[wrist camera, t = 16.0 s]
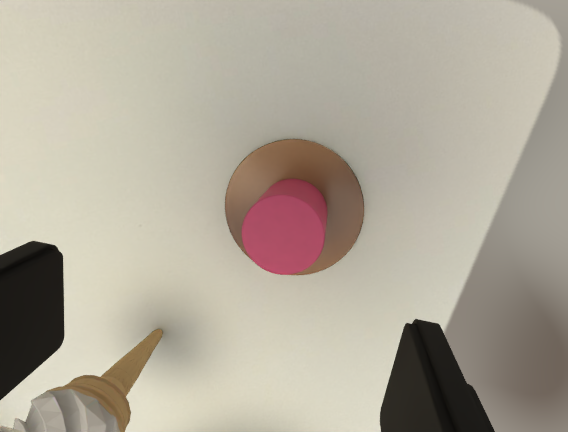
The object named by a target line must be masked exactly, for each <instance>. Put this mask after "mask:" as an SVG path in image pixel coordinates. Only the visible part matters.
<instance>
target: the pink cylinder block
mask: <svg viewBox="0 0 568 432" xmlns="http://www.w3.org/2000/svg"><path fill="white" fill-rule="evenodd" d="M326 223H327V205H326V202H325V199H324V197H323V196H322V194H321V193H320V191H319V190H318V189H317V188H316V187H315V186H313V185H312V184H310V183H308V182H306V181H304V180H300V179H285V180H281V181H279V182H277V183H275V184H273V185H272V186H271V187H270V188H269V189H268V190H267V191H266V192H265V193H264V194H263V195H262V196H261V197H260V198H259V199H258V201H257V202H256V203H255V204H254V205H253V206H252V207H251V208H250V210H249V211H248V212H247V214H246V216H245V218H244V221H243V224H242V241H243V245H244V248H245V250H246V252H247V254H248V255H249V257H250V258H251V259H252V260H253V261H254V262H255V263H256V264H257V265H258V266H260V267H261V268H263V269H264V270H266V271H269V272H271V273H275V274H281V275H288V274H295V273H298V272H301V271H303V270H305V269H307V268H308V267H310V266H311V265H312V264H313V263H314V262H315V261H316V260H317V259H318V257H319V256H320V254H321V252H322V250H323V246H324V241H325V233H326Z"/></svg>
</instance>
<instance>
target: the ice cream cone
mask: <svg viewBox="0 0 568 432" xmlns="http://www.w3.org/2000/svg"><path fill="white" fill-rule="evenodd" d="M161 337H162V330H160V329H157V330H155V331H153V332H152V333H151V334H150V335H148V336H147V337H146V338H145V339H144V340H143V341H142V342H140V343H139V344H138V345H137V346H136V347H134V348H133V349H132V350H131V351H130V352H129V353H127V354H126V355H125V356H124V357H123V358H121V359H120V360H119V361H118V362H116V363H115V364H114V365H113V366H112V367H111V368H110V369H109V370H108V371H106V372H105V373H104V374H103V375H102V376H101V377H98V376H94V375H83V376H80V377H77V378H75V379H73V380H72V381H71V382H70V383H68V384H67V385H65V386H63V387H57V388H54V389H51V390H48V391H46V392H45V393H43V394H41V395H40V396H38V397H36V398H35V399H33V400H31V403H32V405H31V408H30V411H29V414H28V417H27V419H26V422H24V421H22V420H20V419H17V418H15V422H14V427H13V429H16V430H20V431H24V432H125V429H126V426H127V425H128V423H129V421H130V414H131V411H130V407H129V402H128V401H127V399H126V396H127V394H128V392H129V391H130V389H131V388H132V386H133V384H134V383H135V381H136V380H137V378H138V376H139V375H140V373H141V371H142V369H143V367H144V366H145V364H146V362H147V361H148V359H149V357H150V356H151V354H152V352H153V350H154V349H155V347H156V346H157V344H158V342H159V341H160V339H161Z"/></svg>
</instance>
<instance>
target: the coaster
mask: <svg viewBox="0 0 568 432" xmlns="http://www.w3.org/2000/svg"><path fill="white" fill-rule="evenodd" d="M285 179H300V180H304V181H306V182H308V183H310V184H312V185H313V186H315V187H316V188H317V189H318V190H319V191H320V193H321V194H322V196H323V197H324V199H325V202H326V205H327V223H326V233H325V241H324V246H323V250H322V252H321V254H320V256H319V257H318V259H317V260H316V261H315V262H314V263H313V264H312V265H311V266H310V267H308V268H307V269H305V270H303V271H301V272H298V273H295V274H288V275H306V274H311V273H316V272H319V271H321V270H324V269H326V268H328V267H330V266H332V265H333V264H335V263H336V262H338V261H339V260H340V259H341V258H342V257H344V256H345V255H346V254H347V252H348V251H349V250H350V249H351V248H352V246H353V244H354V243H355V241H356V240H357V237H358V235H359V233H360V230H361V227H362V223H363V216H364V202H363V195H362V192H361V188H360V185H359V183H358V180H357V178H356V176H355V174H354V173H353V171H352V169H351V168H350V167H349V166H348V164H347V163H346V162H345V161H344V160H343V159H342V158H341V157H340V156H339V155H337V154H336V153H335V152H333V151H332V150H330V149H328V148H327V147H325V146H323V145H320V144H318V143H315V142H311V141H307V140H300V139H286V140H280V141H275V142H272V143H269V144H267V145H264V146H262V147H260V148H258V149H257V150H255V151H254V152H252V153H251V154H250V155H248V156H247V157H246V158H245V159H244V160H243V161H242V162H241V163H240V164H239V166H238V167H237V169H236V170H235V172H234V173H233V175H232V177H231V179H230V182H229V185H228V188H227V192H226V197H225V213H226V219H227V224H228V226H229V229H230V232H231V234H232V236H233V238H234V240H235V241H236V243H237V244H238V246H239V247H240V248H241V250H242V251H243V252H244V253H245V254H246V255H247V256H248V257H249V255H248V254H247V252H246V250H245V248H244V245H243V241H242V224H243V221H244V218H245V216H246V214H247V212H248V211H249V210H250V208H251V207H252V206H253V205H254V204H255V203H256V202H257V201H258V199H259V198H260V197H261V196H262V195H263V194H264V193H265V192H266V191H267V190H268V189H269V188H270V187H271V186H272V185H273V184H275V183H277V182H279V181H281V180H285ZM249 258H250V257H249ZM250 259H251V258H250Z"/></svg>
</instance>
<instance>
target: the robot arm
mask: <svg viewBox="0 0 568 432" xmlns="http://www.w3.org/2000/svg"><path fill="white" fill-rule="evenodd" d="M63 340H64V287H63V255H62V253H61V252H59V250H58V248H57V247H56V246H55V245H51V244H46V243H41V242H36V241H31V242H28V243H26V244H24V245H22V246H20V247H17V248H15V249H13V250H11V251H8V252H6V253H4V254H2V255H0V400H1V399H2V398H3V397H5V396H6V395H7V394H8V393H9V392H10V391H11V390H12V389H14V388H15V387H16V386H17V385H18V384H19V383H20V382H22V381H23V380H24V379H25V378H26V377H27V376H28V375H30V374H31V373H32V372H33V371H34V370H35V369H36V368H38V367H39V366H40V365H41V364H42V363H43V362H44V361H45V360H47V359H48V358H49V357H50V356H51V355H52V354H53V353H55V352H56V351H57V350H58V349H59V348H60V346H61V345H62V342H63ZM380 426H381V432H495V431H494V429H493V427H492V425H491V423H490V421H489V419H488V416H487V414H486V412H485V410H484V408H483V406H482V404H481V402H480V400H479V398H478V396H477V394H476V391H475V390H474V389H473V387H472V386H471V385H469V384H467V383H466V381H465V379H464V376H463V374H462V372H461V370H460V368H459V366H458V363H457V361H456V359H455V357H454V355H453V353H452V350H451V348H450V346H449V344H448V342H447V340H446V337H445V335H444V333H443V331H442V329H441V327H440V325H439V324H437V323H432V322H427V321H423V320H418V319H415V320H414V321H413V323H412V324H409V323H406V324H405V326H404V329H403V333H402V336H401V340H400V343H399V347H398V350H397V354H396V357H395V361H394V364H393V368H392V371H391V375H390V378H389V382H388V385H387V389H386V393H385V396H384V400H383V403H382V407H381V412H380ZM0 432H24V431H20V430H16V429H11V428H7V427H3V426H0Z"/></svg>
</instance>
